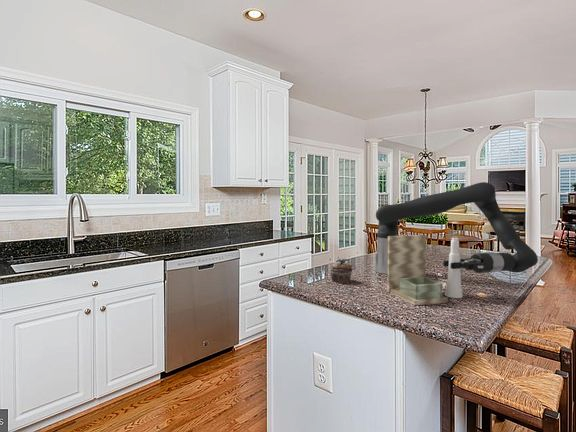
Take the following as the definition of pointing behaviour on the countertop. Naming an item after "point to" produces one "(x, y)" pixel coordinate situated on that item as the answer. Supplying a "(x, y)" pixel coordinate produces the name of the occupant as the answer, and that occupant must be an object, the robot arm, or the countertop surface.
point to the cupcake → (341, 271)
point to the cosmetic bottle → (454, 272)
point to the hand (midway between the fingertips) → (447, 264)
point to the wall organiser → (411, 271)
